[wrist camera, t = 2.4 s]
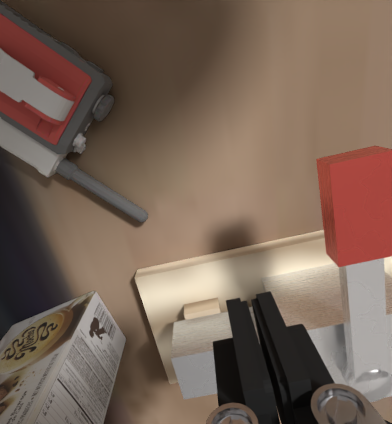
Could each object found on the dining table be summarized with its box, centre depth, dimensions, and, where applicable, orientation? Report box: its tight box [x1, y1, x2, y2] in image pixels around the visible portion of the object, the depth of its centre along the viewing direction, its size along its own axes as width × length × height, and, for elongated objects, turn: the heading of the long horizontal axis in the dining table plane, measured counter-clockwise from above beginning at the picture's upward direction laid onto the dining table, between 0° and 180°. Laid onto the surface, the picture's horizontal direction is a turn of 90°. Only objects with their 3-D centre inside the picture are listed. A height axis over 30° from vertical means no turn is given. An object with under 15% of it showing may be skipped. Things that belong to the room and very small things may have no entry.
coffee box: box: [0, 291, 126, 424], centre depth 23 cm, size 9×6×16 cm
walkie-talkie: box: [0, 0, 148, 222], centre depth 22 cm, size 9×4×20 cm
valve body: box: [171, 263, 392, 399], centre depth 24 cm, size 7×25×7 cm, turn 103°
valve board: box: [135, 230, 392, 384], centre depth 28 cm, size 12×30×3 cm, turn 103°
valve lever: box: [316, 146, 392, 402], centre depth 18 cm, size 16×3×2 cm, turn 13°
